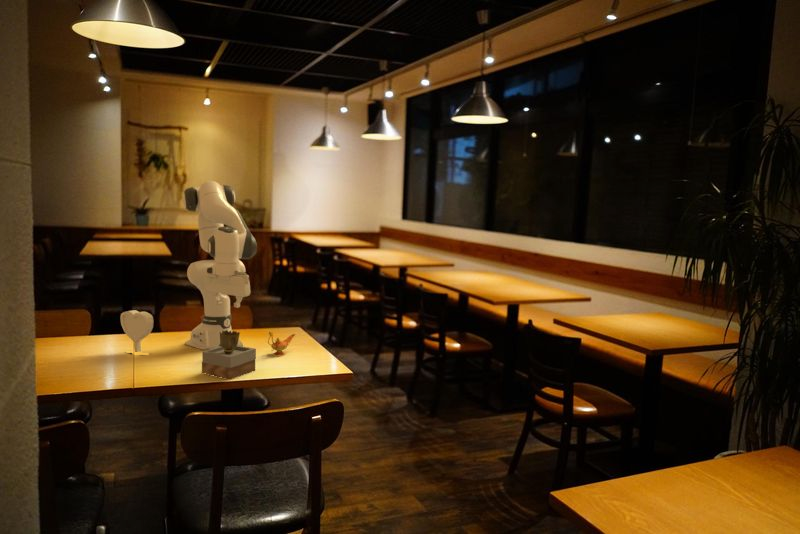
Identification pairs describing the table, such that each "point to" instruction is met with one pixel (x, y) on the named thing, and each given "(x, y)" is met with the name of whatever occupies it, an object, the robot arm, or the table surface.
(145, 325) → the heart sculpture
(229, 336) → the cup
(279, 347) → the magic lamp
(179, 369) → the table surface
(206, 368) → the tower block low
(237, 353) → the tower block high
